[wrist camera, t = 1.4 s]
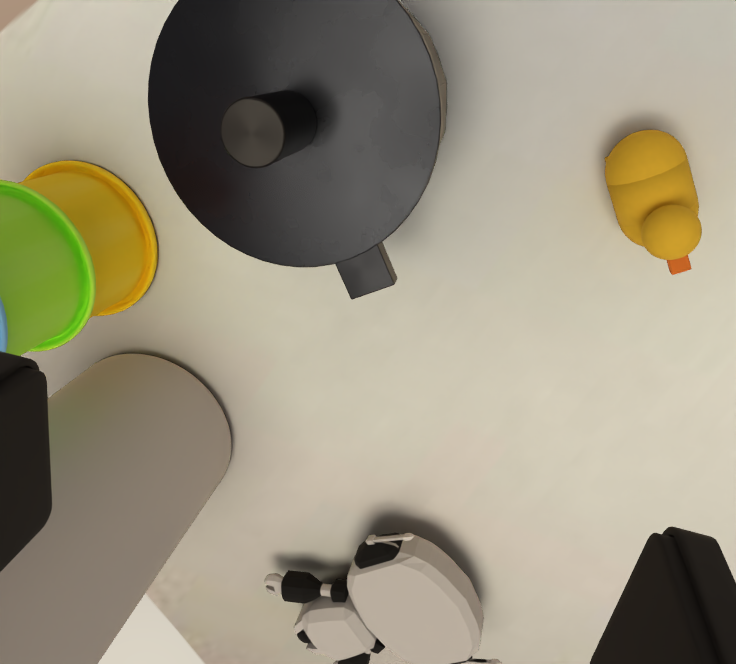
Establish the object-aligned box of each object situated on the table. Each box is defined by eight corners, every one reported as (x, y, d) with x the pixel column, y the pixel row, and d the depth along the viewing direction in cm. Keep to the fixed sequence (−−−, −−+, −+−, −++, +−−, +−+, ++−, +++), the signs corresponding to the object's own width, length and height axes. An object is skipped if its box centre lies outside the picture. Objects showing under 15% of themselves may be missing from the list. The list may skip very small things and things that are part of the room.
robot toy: (350, 654, 54) (512, 619, 48) (334, 704, 50) (508, 673, 44) (268, 547, 51) (429, 494, 45) (244, 591, 47) (417, 540, 41)
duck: (591, 142, 34) (606, 159, 29) (666, 113, 33) (697, 125, 27) (625, 257, 36) (646, 293, 31) (698, 233, 35) (732, 267, 29)
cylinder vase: (49, 369, 47) (-365, 656, 25) (191, 331, 44) (-146, 628, 21) (124, 506, 51) (-175, 859, 29) (261, 481, 48) (39, 866, 25)
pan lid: (371, -116, 25) (336, -158, 20) (486, 203, 29) (481, 235, 24) (108, 36, 29) (25, 33, 24) (239, 296, 33) (191, 339, 28)
